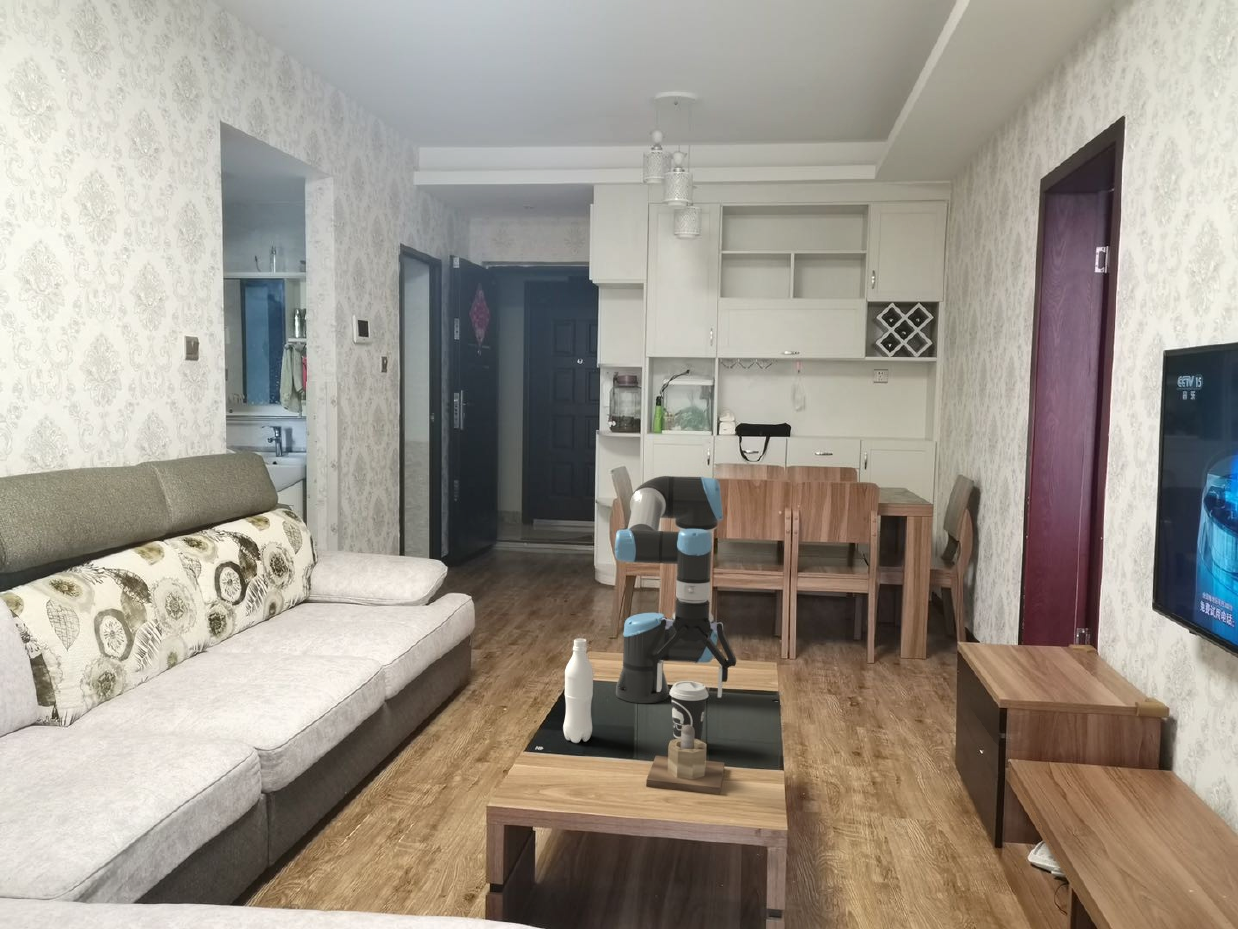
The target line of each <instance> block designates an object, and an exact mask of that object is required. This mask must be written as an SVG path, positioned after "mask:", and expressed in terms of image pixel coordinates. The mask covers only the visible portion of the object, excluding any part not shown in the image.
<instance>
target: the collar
mask: <svg viewBox="0 0 1238 929" xmlns="http://www.w3.org/2000/svg"><path fill="white" fill-rule="evenodd" d="M667 748H668V749H667V751H668V752H667V755H668V756H667V757H668V773H670V774H672V775H673V776H675V777H677V778H686V779H695V778H699V777H702V776H704V775H705V771H706V761H707V743H705V742H704V741H702V740H701V741H700V740H698V739H694V749H682V748H681V738H679V739H674V738H673V739H671V740H669V743H668V747H667Z"/></svg>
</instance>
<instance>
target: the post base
mask: <svg viewBox="0 0 1238 929" xmlns="http://www.w3.org/2000/svg"><path fill="white" fill-rule="evenodd" d="M694 736H695V731H694V728H693V727H692V726H691V725H685V726H683V728H682V730H681V748H682V749H694ZM724 772H725V762H722V761H712V760H706V771H705V775H704V776H702V777H699V778H695V779H686V778H677V777H675V776H673V775H672V774H670V773H668V756H666V755H665V756H664V755H655V757H654V759H653V763H652V764H651V767H650V770H649V772H648V776H647V778H646V784H645V785H646V787H650V788H659V789H667V790H676V791H685V792H695V793H704V794H713V795H721V788H722V783H723V779H724V778H723V777H724Z"/></svg>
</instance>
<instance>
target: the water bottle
mask: <svg viewBox="0 0 1238 929" xmlns="http://www.w3.org/2000/svg"><path fill="white" fill-rule="evenodd" d="M572 651H573V652H572V656H571V658H570V659H569V661H568V663H567V664H566V667H565V671H564V698H565V699H564V700H565V716H564V722H563V726H562V730H563V734H564V738H565V739H566V740H567V741H571V742H572V743H574V744H579V743H580V741H581V740H582V741H583V742H587V741H589V739H590V738H591V735H592V732H593V723H592V714H591V713H592V712H591V711H592V710H591V707H592V700H593V695H594V693H593V692H594V691H593V690H594V674H595V673H594V667H593V665H592V663H591V661H590V660H589V658H588V655H587V651H588V648H587V639H586V638H575V639H574V640H573V647H572Z"/></svg>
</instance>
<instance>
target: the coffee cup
mask: <svg viewBox="0 0 1238 929" xmlns="http://www.w3.org/2000/svg"><path fill="white" fill-rule="evenodd" d="M668 695H669V696H671V713H672V714H671V717H672V733H673V734H672V735H673V736H672V737H673V740H674V739H679V738H681V730H682V728H683V726H685V725H691V726H692V727H693V728H694V731H695V736H694V739H698V740H700V741H702V737H703V736H702V735H703V727H704V720H705V718H704V717H705V710H706V703H707V702H706V701H707V698H709V692H708V690H707V688H706V685H705V684H704V683H702V682H699V681H693V680H683V681H682V680H680V681H676V682H674V683H673V684H672V687H671V689H670V690H669V692H668Z"/></svg>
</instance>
